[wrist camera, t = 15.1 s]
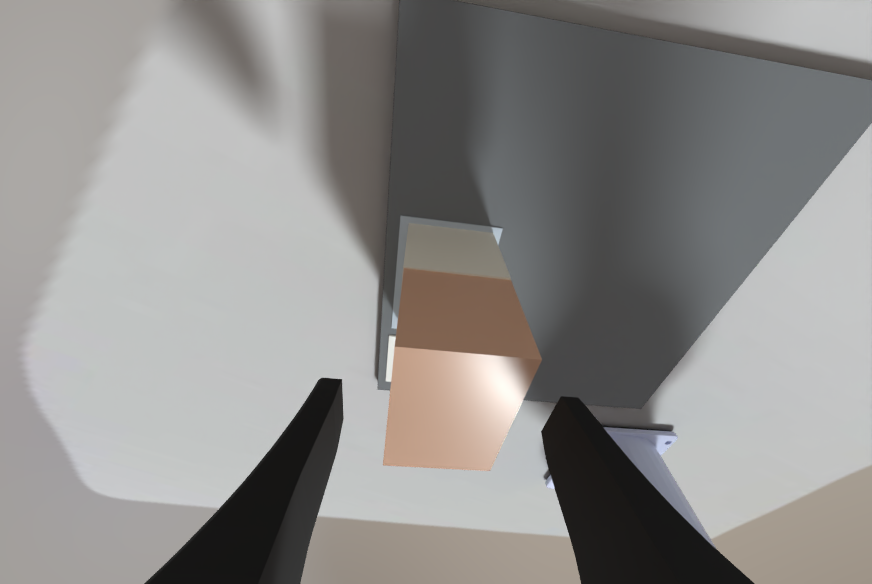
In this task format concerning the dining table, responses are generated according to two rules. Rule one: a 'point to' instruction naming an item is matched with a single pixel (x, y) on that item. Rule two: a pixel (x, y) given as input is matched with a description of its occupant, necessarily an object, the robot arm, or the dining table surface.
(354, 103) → the dining table surface
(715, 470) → the dining table surface
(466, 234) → the cream brick
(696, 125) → the mat
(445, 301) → the terracotta brick
